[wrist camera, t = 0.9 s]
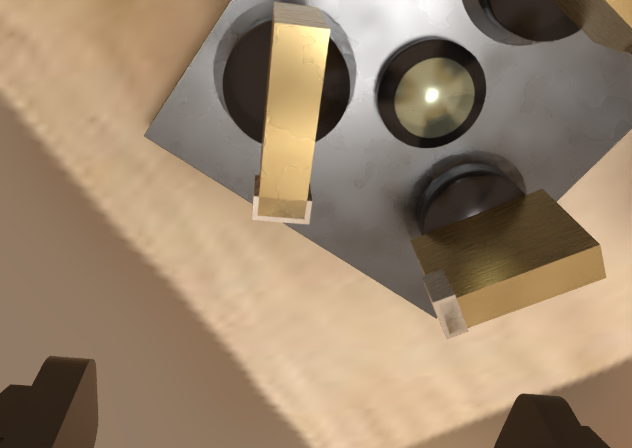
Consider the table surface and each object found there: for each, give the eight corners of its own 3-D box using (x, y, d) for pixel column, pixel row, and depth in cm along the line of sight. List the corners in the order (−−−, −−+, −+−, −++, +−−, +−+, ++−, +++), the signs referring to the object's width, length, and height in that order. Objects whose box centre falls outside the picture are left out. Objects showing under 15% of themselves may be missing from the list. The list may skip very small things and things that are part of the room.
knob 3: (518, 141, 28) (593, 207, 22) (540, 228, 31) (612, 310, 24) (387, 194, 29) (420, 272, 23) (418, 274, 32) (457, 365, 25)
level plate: (413, -283, 22) (430, -308, 19) (699, 36, 28) (738, 47, 26) (149, 126, 28) (138, 144, 26) (430, 303, 35) (441, 331, 33)
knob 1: (229, -10, 24) (214, 15, 17) (356, 6, 25) (386, 36, 18) (221, 146, 27) (206, 216, 21) (333, 156, 28) (352, 227, 22)
